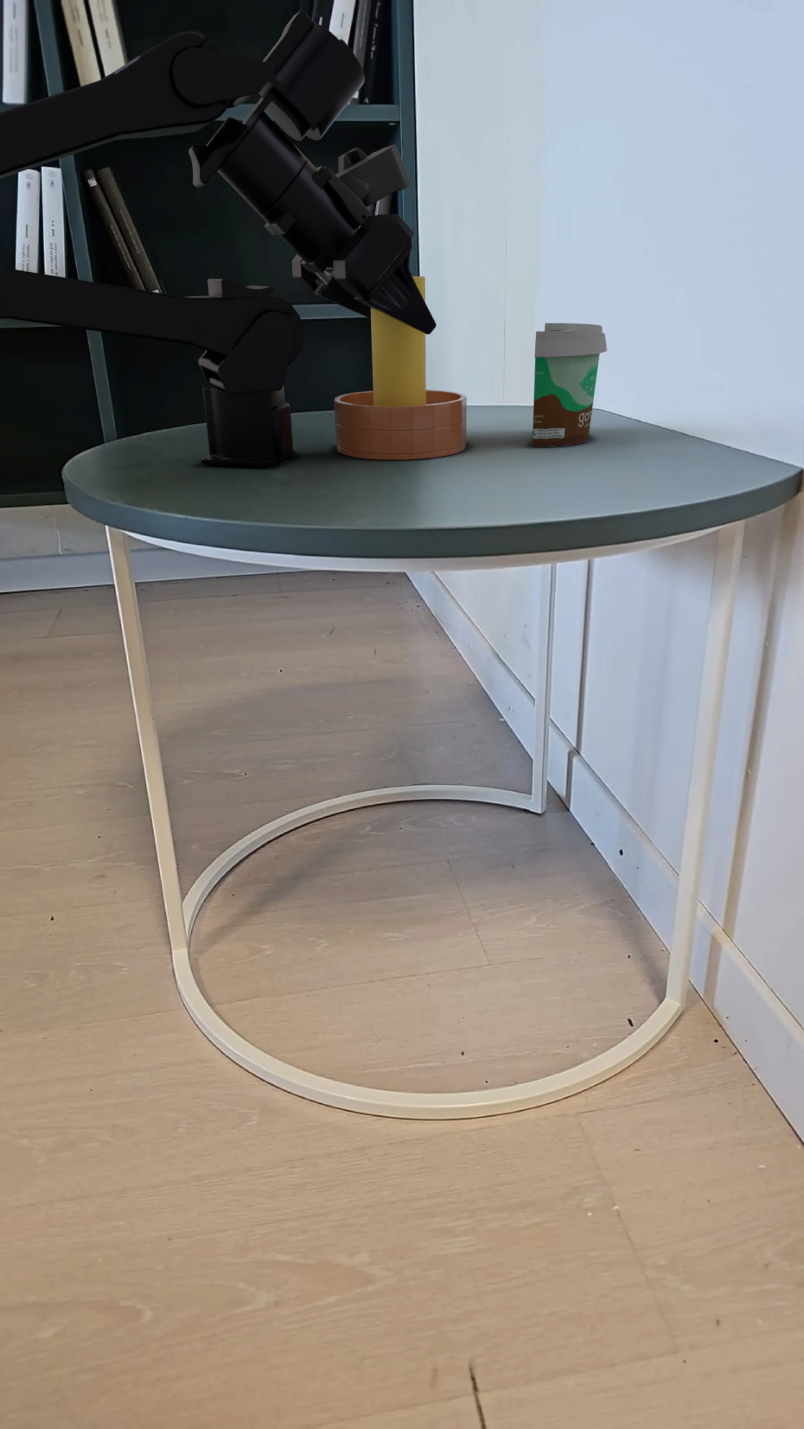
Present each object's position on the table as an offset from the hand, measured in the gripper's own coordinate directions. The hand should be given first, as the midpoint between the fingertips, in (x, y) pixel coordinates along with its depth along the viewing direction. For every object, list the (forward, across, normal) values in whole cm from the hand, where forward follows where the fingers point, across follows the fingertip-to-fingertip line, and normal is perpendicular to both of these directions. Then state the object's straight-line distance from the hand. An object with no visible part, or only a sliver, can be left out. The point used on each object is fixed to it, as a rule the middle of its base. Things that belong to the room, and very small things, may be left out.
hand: (414, 327), depth 86 cm
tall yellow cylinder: (+6, 0, +8) cm, 10 cm away
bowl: (+6, 0, +8) cm, 10 cm away
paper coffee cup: (+18, -2, -3) cm, 18 cm away
